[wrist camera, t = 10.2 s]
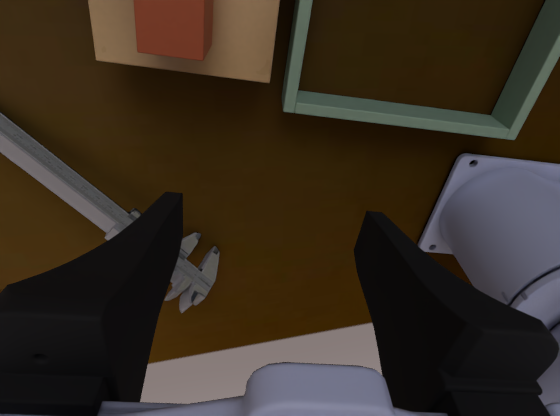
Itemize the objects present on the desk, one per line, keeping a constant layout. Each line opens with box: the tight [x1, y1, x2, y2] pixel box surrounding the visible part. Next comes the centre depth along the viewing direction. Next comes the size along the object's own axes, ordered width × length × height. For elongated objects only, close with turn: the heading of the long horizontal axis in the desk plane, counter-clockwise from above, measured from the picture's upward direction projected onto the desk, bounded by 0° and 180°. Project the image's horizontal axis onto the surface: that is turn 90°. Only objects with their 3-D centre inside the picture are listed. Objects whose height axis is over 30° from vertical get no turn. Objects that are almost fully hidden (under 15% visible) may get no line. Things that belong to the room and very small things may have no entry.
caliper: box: [0, 112, 220, 313], centre depth 21 cm, size 20×1×6 cm, turn 46°
